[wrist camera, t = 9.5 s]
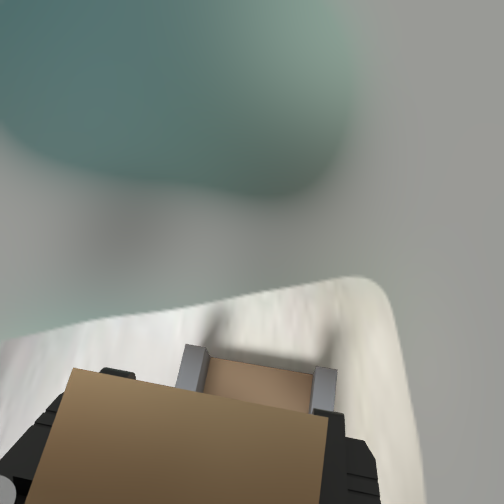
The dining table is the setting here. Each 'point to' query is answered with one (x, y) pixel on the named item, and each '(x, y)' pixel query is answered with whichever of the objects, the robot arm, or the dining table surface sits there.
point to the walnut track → (256, 382)
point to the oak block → (175, 448)
